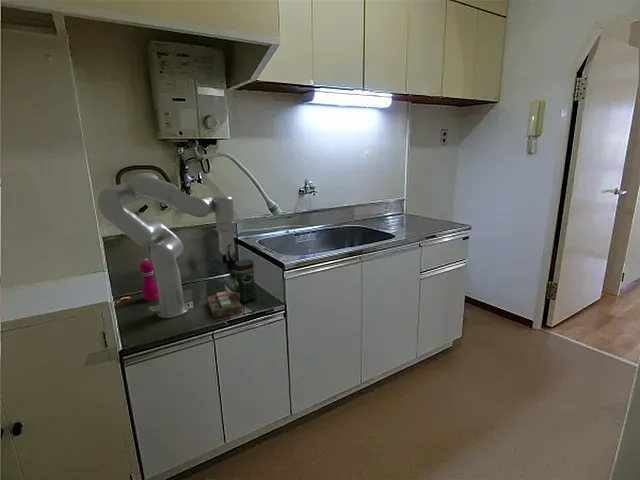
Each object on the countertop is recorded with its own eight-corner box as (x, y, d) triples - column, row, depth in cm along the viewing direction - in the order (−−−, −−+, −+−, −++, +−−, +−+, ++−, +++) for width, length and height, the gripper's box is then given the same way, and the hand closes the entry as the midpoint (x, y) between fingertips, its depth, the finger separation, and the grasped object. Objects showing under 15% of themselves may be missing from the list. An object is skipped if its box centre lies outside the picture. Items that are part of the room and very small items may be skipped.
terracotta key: (218, 302, 166) (217, 295, 165) (217, 298, 170) (216, 293, 169) (227, 300, 168) (226, 294, 167) (226, 297, 171) (225, 291, 171)
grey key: (220, 306, 161) (219, 300, 161) (218, 303, 165) (218, 297, 164) (229, 304, 163) (228, 298, 162) (228, 301, 166) (227, 295, 166)
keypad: (213, 318, 154) (212, 311, 153) (208, 302, 170) (207, 296, 169) (242, 312, 158) (241, 305, 157) (234, 297, 174) (233, 291, 174)
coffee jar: (252, 293, 179) (249, 256, 174) (259, 298, 172) (256, 260, 168) (233, 298, 174) (229, 260, 169) (239, 303, 167) (235, 264, 163)
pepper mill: (148, 302, 173) (141, 261, 168) (140, 299, 177) (133, 259, 172) (163, 297, 178) (156, 257, 174) (155, 294, 183) (148, 255, 178)
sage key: (222, 311, 156) (221, 304, 156) (220, 307, 160) (220, 301, 159) (231, 309, 158) (231, 303, 157) (230, 306, 161) (229, 299, 161)
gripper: (212, 223, 159) (216, 262, 163) (220, 231, 144) (223, 273, 148) (230, 222, 162) (233, 259, 166) (239, 229, 147) (242, 270, 151)
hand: (229, 266), depth 157 cm, fingers open, 9 cm apart
